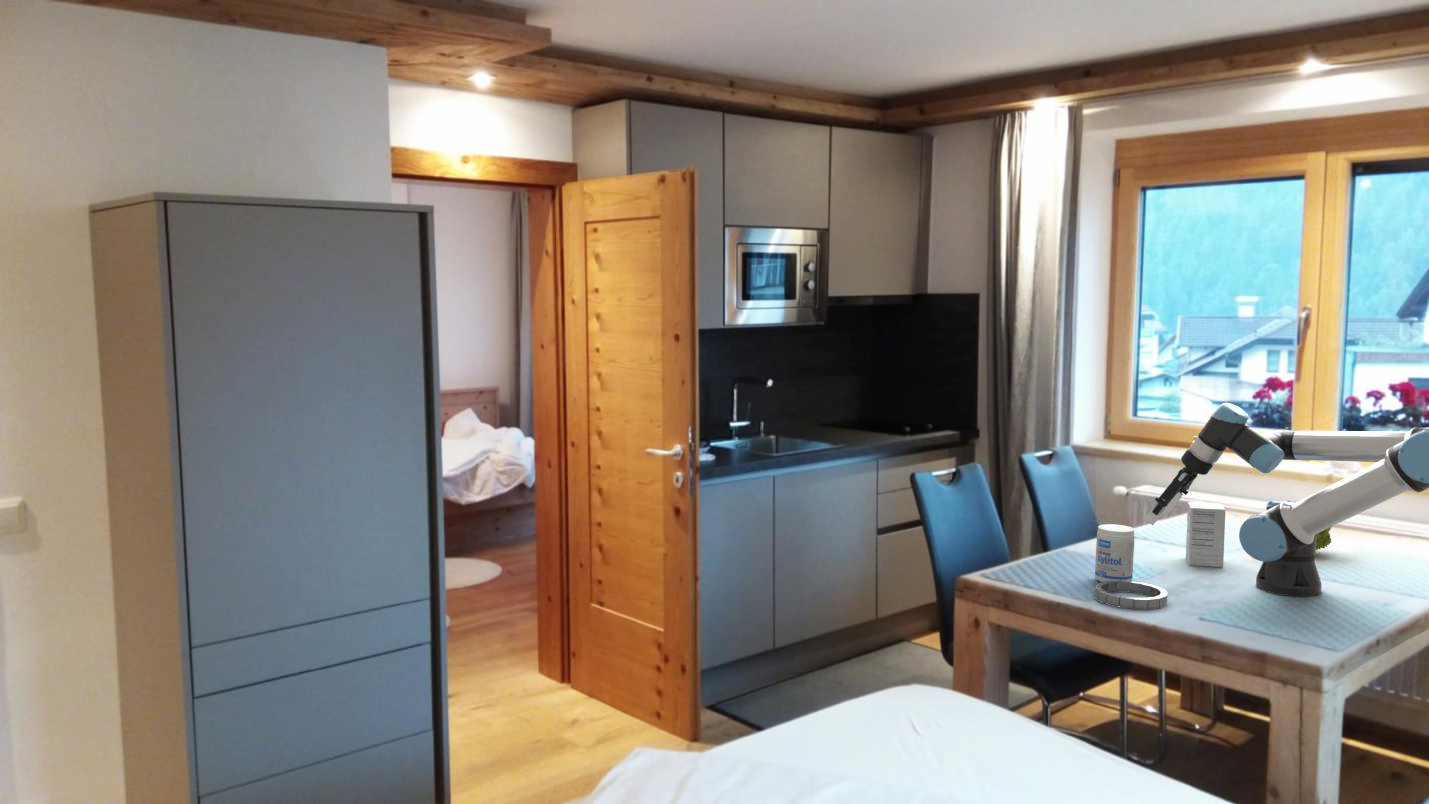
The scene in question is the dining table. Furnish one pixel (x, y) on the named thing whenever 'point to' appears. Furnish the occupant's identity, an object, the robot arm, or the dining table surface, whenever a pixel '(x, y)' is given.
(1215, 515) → the supplement box
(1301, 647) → the dining table surface
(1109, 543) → the supplement tub
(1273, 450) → the robot arm
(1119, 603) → the collar
